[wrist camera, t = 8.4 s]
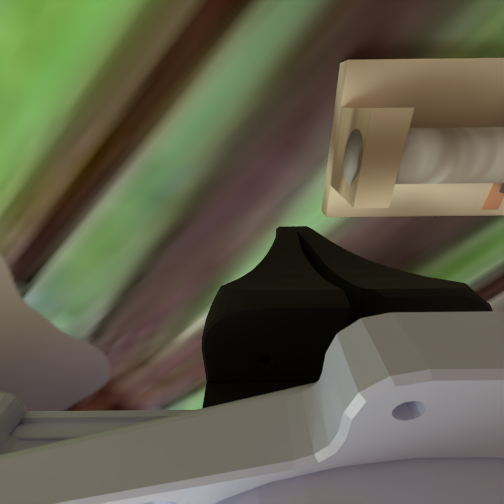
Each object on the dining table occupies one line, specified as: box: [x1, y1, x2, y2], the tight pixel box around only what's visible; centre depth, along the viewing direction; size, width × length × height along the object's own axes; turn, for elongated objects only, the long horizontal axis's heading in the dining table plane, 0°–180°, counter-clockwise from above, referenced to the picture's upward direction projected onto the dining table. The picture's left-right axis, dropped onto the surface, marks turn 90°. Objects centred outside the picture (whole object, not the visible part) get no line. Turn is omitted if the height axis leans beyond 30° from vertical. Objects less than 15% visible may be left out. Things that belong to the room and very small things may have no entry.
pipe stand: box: [322, 58, 504, 217], centre depth 16 cm, size 10×18×7 cm, turn 91°
